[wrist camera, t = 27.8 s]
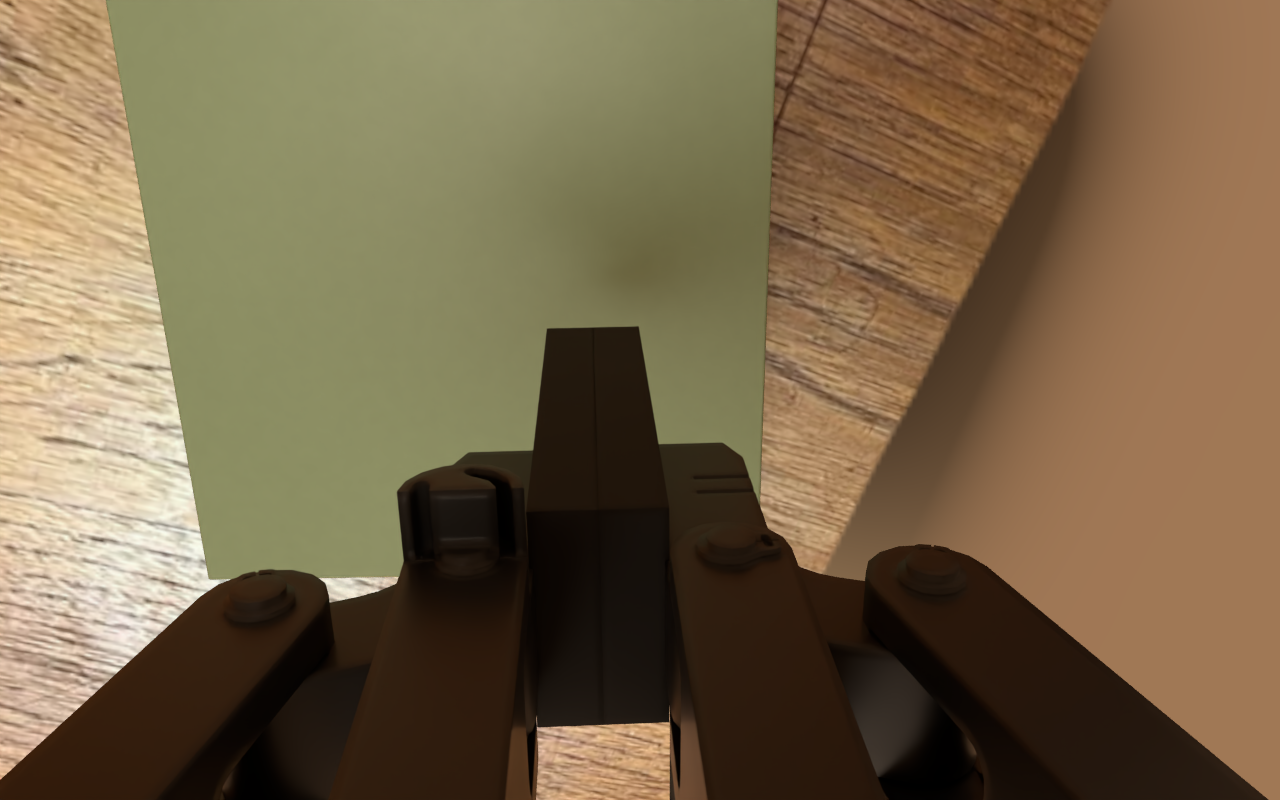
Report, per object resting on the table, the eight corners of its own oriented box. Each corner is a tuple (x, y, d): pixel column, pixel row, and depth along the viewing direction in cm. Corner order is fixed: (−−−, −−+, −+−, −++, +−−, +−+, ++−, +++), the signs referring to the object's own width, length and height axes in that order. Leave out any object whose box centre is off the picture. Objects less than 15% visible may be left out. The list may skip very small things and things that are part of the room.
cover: (777, -77, 22) (781, -79, 22) (755, 561, 28) (757, 572, 27) (105, -71, 22) (91, -73, 22) (216, 568, 28) (208, 580, 27)
